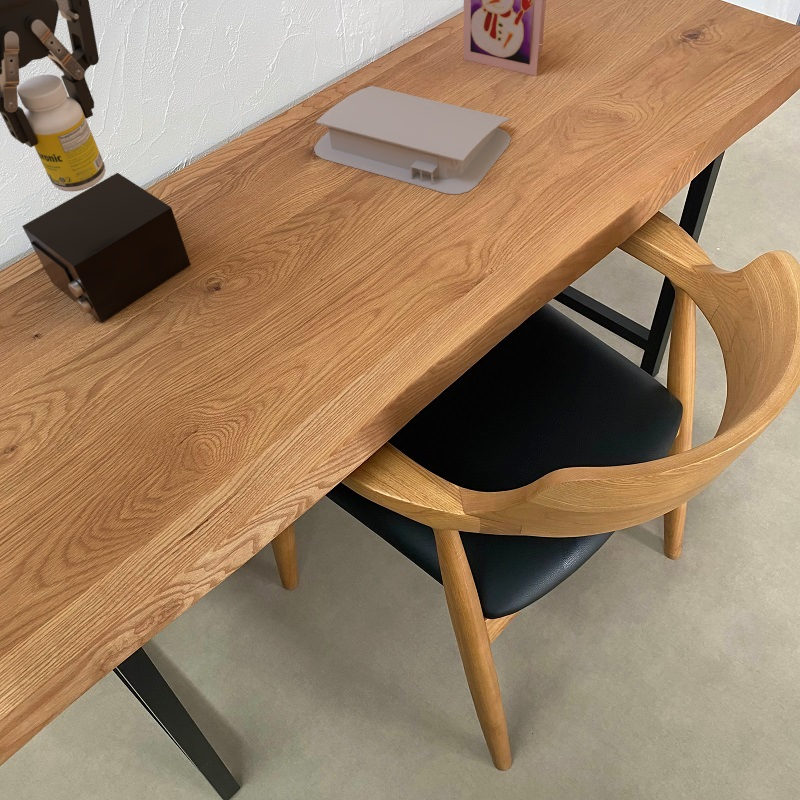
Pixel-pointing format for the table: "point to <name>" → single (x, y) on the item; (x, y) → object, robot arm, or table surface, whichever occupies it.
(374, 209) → the table surface
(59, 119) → the supplement bottle
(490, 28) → the greeting card
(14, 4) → the robot arm
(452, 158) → the miniature building model
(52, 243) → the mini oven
